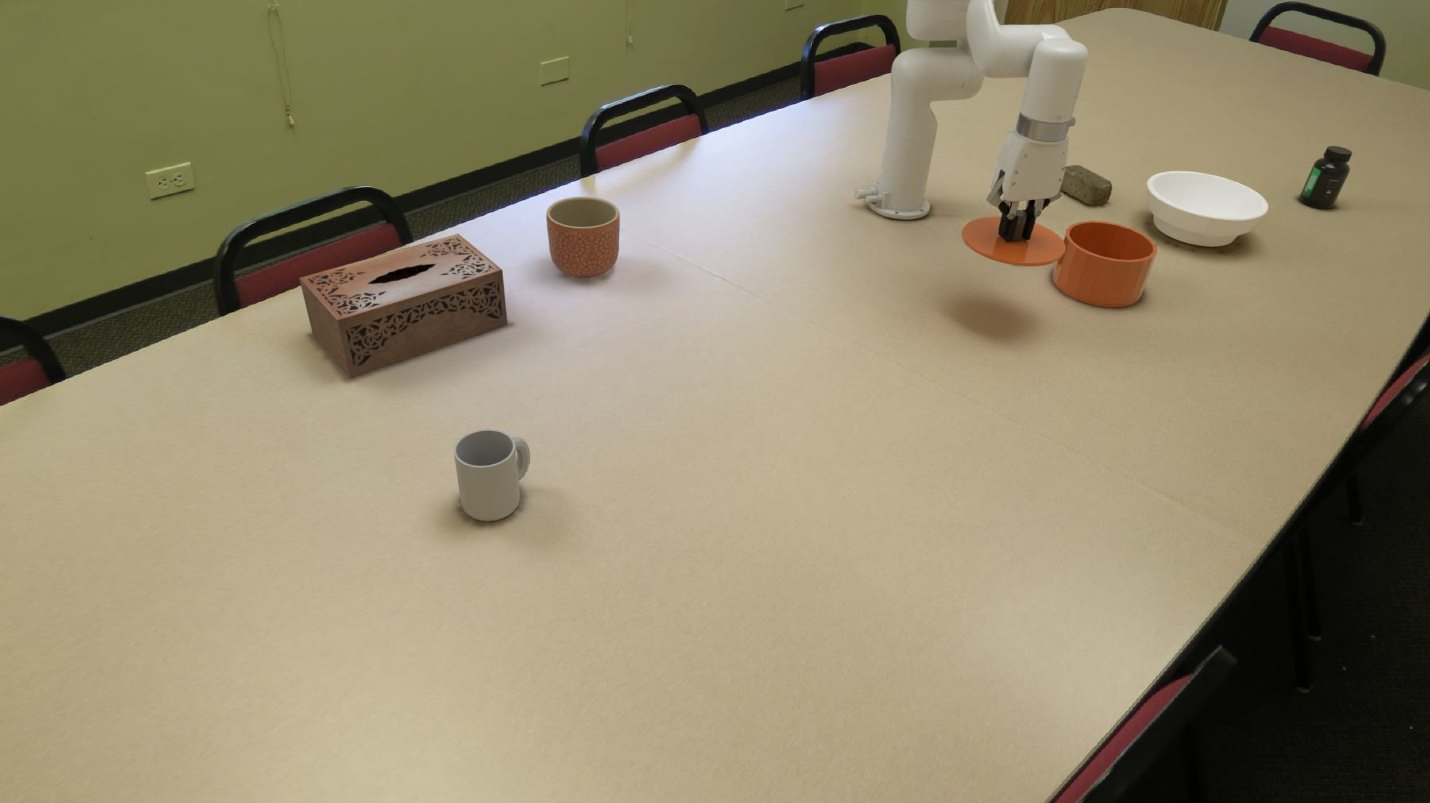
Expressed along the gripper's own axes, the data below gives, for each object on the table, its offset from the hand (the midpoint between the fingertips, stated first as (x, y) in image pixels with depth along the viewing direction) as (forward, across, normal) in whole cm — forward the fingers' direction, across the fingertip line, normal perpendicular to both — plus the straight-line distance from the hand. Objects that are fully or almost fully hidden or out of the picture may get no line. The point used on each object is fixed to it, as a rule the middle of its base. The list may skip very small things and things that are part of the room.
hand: (1013, 236), depth 154 cm
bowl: (+15, -57, -20) cm, 62 cm away
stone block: (+15, -44, -40) cm, 61 cm away
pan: (+15, -24, -5) cm, 29 cm away
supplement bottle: (+15, -95, -27) cm, 100 cm away
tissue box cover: (+15, +95, -15) cm, 97 cm away
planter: (+15, +65, -29) cm, 73 cm away
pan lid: (+1, 0, 0) cm, 1 cm away
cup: (+15, +86, +27) cm, 91 cm away
